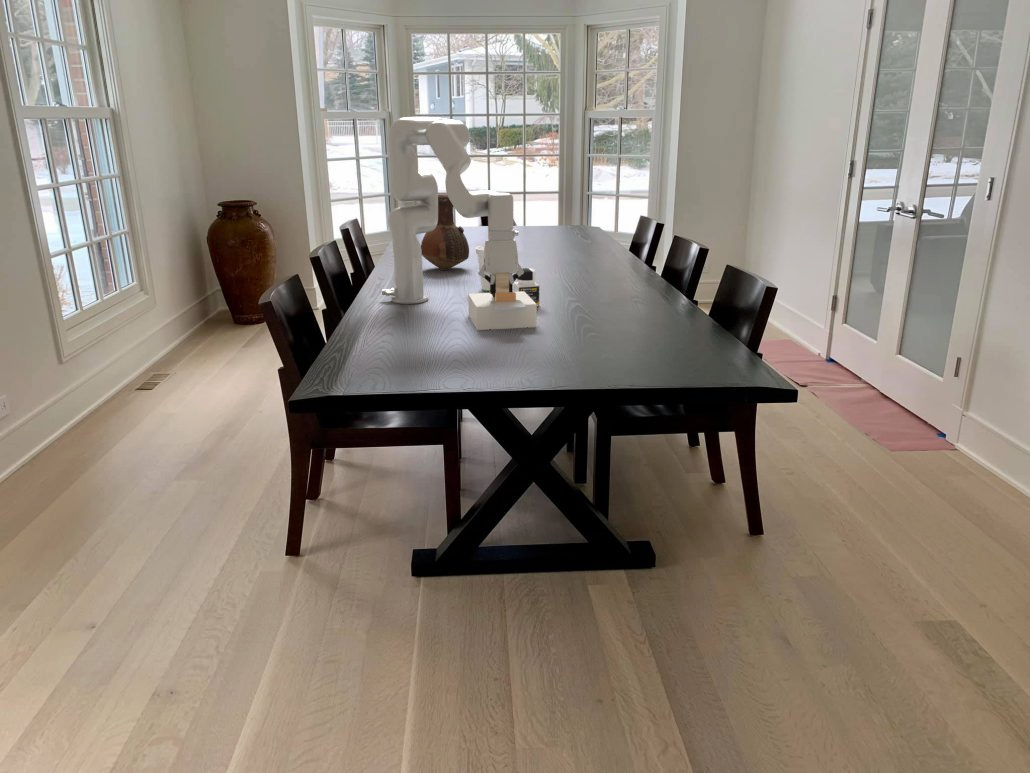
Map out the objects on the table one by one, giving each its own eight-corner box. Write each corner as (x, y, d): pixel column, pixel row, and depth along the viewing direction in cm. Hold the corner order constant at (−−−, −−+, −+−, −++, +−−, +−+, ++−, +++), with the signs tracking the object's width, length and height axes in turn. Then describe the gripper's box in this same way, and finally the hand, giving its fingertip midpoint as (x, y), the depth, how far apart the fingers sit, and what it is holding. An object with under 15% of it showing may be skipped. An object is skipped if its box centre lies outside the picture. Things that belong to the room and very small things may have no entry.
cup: (469, 291, 272) (469, 248, 267) (487, 284, 282) (486, 244, 277) (500, 294, 266) (499, 251, 261) (516, 288, 277) (516, 246, 272)
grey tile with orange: (495, 310, 215) (495, 300, 214) (490, 303, 223) (490, 293, 222) (526, 309, 216) (526, 298, 215) (519, 302, 225) (519, 291, 224)
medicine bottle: (518, 307, 248) (518, 271, 244) (513, 302, 255) (513, 267, 251) (539, 306, 250) (539, 270, 246) (533, 301, 257) (533, 266, 253)
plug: (494, 305, 232) (493, 261, 227) (506, 304, 232) (506, 260, 228) (496, 308, 228) (495, 263, 223) (509, 307, 229) (508, 263, 224)
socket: (477, 330, 222) (476, 307, 220) (468, 315, 238) (468, 293, 236) (536, 327, 225) (536, 304, 223) (524, 312, 242) (524, 291, 239)
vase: (470, 275, 300) (468, 198, 290) (420, 275, 298) (416, 198, 288) (468, 263, 323) (467, 192, 313) (422, 264, 322) (419, 192, 311)
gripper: (525, 233, 228) (525, 292, 234) (471, 234, 225) (472, 294, 231) (531, 236, 221) (530, 297, 227) (474, 238, 218) (476, 300, 224)
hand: (501, 295), depth 229 cm, fingers closed on plug, 4 cm apart
